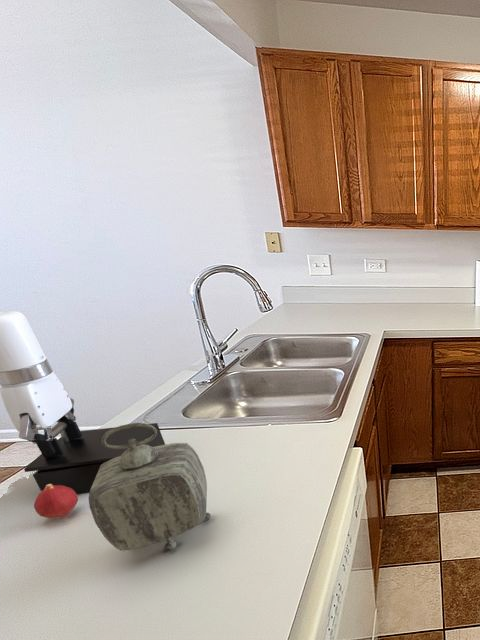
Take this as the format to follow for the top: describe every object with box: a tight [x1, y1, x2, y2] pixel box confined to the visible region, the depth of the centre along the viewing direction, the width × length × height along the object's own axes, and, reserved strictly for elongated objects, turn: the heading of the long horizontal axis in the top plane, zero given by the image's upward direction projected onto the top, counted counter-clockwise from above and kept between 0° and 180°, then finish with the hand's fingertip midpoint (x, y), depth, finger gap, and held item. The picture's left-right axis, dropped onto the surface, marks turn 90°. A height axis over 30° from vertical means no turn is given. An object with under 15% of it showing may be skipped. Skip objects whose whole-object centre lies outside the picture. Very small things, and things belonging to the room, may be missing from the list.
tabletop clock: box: [88, 422, 211, 552], centre depth 68 cm, size 14×9×25 cm, turn 122°
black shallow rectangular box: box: [32, 425, 166, 495], centre depth 90 cm, size 17×14×6 cm
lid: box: [23, 422, 159, 473], centre depth 88 cm, size 18×14×6 cm
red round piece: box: [33, 484, 79, 519], centre depth 77 cm, size 6×6×8 cm
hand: (64, 446), depth 87 cm, fingers closed on lid, 6 cm apart
